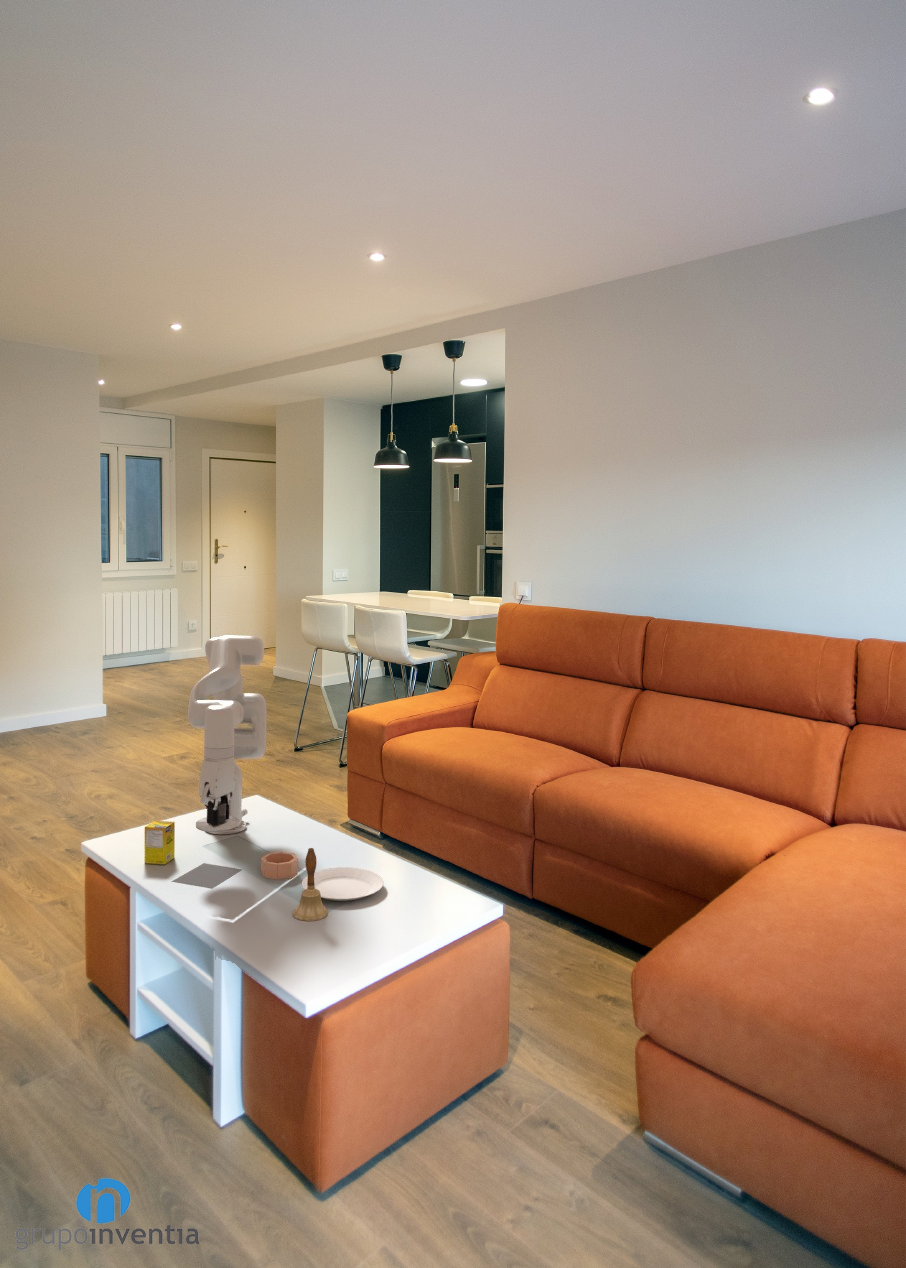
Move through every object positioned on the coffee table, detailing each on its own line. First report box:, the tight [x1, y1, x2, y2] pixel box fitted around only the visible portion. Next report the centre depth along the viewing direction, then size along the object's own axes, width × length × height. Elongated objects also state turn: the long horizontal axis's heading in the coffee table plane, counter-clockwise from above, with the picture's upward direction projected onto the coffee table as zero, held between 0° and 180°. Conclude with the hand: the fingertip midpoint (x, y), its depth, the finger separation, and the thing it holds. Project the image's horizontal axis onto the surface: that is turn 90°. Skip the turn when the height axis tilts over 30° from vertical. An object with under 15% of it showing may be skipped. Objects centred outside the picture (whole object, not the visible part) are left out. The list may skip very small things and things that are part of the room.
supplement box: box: [144, 820, 176, 866], centre depth 219 cm, size 6×6×11 cm
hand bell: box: [292, 847, 329, 922], centre depth 190 cm, size 8×8×16 cm
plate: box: [301, 866, 385, 902], centre depth 206 cm, size 21×21×2 cm
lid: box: [195, 801, 240, 833], centre depth 210 cm, size 11×11×6 cm
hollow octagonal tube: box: [260, 851, 299, 880], centre depth 215 cm, size 9×9×4 cm
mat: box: [171, 862, 243, 889], centre depth 211 cm, size 14×12×1 cm
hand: (218, 820), depth 210 cm, fingers closed on lid, 4 cm apart
